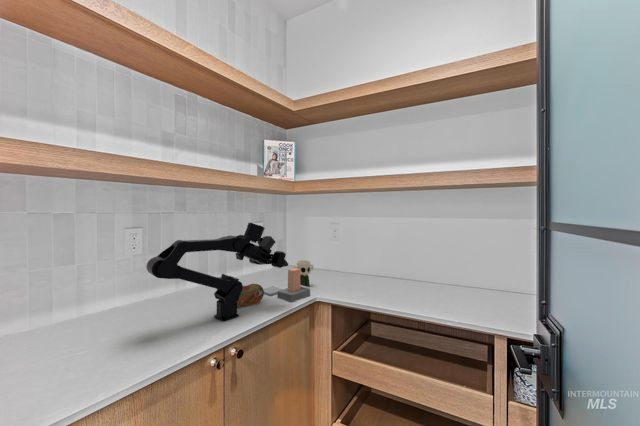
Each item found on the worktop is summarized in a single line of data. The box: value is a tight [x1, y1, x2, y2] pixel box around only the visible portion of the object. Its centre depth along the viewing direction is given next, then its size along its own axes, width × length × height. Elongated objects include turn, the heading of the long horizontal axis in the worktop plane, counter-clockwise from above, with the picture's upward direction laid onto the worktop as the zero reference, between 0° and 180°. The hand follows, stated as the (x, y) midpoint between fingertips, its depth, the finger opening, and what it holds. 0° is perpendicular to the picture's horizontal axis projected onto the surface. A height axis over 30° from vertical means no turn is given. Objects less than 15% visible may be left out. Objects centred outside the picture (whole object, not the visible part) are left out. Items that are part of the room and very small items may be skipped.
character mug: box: [293, 260, 314, 287], centre depth 141 cm, size 11×7×13 cm, turn 118°
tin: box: [236, 283, 265, 309], centre depth 113 cm, size 15×3×8 cm, turn 129°
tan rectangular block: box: [287, 267, 300, 292], centre depth 125 cm, size 4×4×12 cm
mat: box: [263, 285, 284, 297], centre depth 131 cm, size 9×9×1 cm
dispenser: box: [276, 285, 311, 303], centre depth 125 cm, size 12×9×4 cm
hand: (280, 263), depth 119 cm, fingers open, 9 cm apart
